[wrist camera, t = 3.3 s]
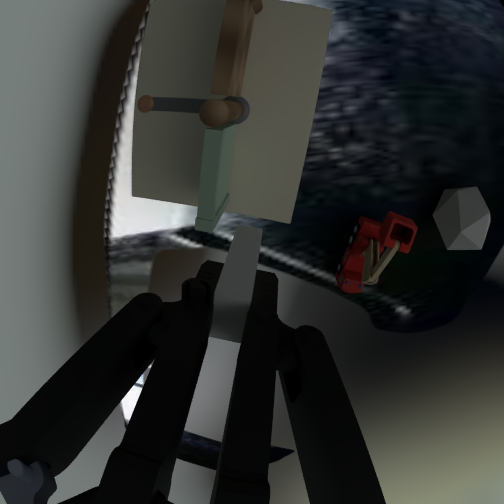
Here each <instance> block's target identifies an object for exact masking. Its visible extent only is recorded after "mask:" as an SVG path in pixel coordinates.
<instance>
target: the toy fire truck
mask: <svg viewBox="0 0 504 504" xmlns="http://www.w3.org/2000/svg"><path fill="white" fill-rule="evenodd" d="M358 222H359V224H360V225H359V224H356V225H355V227H354V234H355V235H357V236H355V235H351V237H350V239H349V245H348V247H347V249H346V251H345V254H344V256H343V258H342V260H341V261H342V263H339V264H338V267H337V272H336V274H335V276H336V280H337V284H338V286H339V287H340V288H341V289H342V290H343V291H345V292H347V293H357V292H360V291H361V290H362V288H363V286H364V285H365V284H369V285H371V284H375V283H377V281H378V276H379V275H380V273H381V272H382V271H383V269H384V268H385V267H386V265H387V264H388V262H389V261H390V260H391V258H392V257H393V256H394V254H395V253H396V251H397V250H399V251H401V252H404V253H408V252H409V250H410V248H411V245H412V243H413V240H414V238H415V235H416V232H417V229H418V228H417V226H416V225H415V223H414V221H413V220H411V219H409V218H406V217H403V216H401V215H398V214H396V213H393V212H391V211H388V214H387V216H386V218H385V220H384V222H383V224H381V223H380V222H379V221H376V220H372V219H369V218H366V217H363V216H361V217H360V218H359V221H358ZM383 245H384V246H387V247H388V248H387V249H386V251H385V252H384V254H383V255H382V257H381V258H380V259H379V255H380V254H381V252H382V251H383V249H384V246H383ZM362 273H363V274H362Z"/></svg>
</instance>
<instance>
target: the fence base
mask: <svg viewBox="0 0 504 504" xmlns="http://www.w3.org/2000/svg"><path fill="white" fill-rule="evenodd" d="M262 8H263V5H262V1H261V0H226V5H225V10H224V15H223V20H222V25H221V30H220V35H219V41H218V46H217V52H216V58H215V64H214V70H213V77H212V83H211V90H210V94H214V95H225V96H234V97H241V91H242V85H243V78H244V72H245V67H246V61H247V55H248V49H249V44H250V38H251V33H252V28H253V22H254V17H255V14H258V13H259V12H261V10H262ZM244 111H245V108H244V105H243V104H242V103H241V102H240V101H238V100H225V99H210V100H207V101H206V102H204V103H203V104H202V105H201V107H200V110H199V117H200V120H201V121H202V122H203V123H204V124H205V125H207V126H210V127H215V126H219V125H222V124H224V123H227V122H230V121H233V120H236V119H239V118H241V117H242V116H243V114H244Z"/></svg>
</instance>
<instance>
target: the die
mask: <svg viewBox="0 0 504 504" xmlns="http://www.w3.org/2000/svg"><path fill="white" fill-rule="evenodd" d="M433 218H434V220H435V222H436V224H437V227H438V229H439V231H440V233H441V236H442V238H443V241H444V243H445V245H446V248H447V250H480V249H482V246H483V243H484V240H485V237H486V234H487V230H488V227H489V224H490V211H489V209H488V207H487V205H486V203H485V201H484V199H483V197H482V196H481V194H480V192H479V190H478V188H477V187H468V188H456V189H445V190H444V192H443V194H442V196H441V198H440V200H439V203H438V205H437V207H436V209H435V211H434V213H433Z"/></svg>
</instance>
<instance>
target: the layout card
mask: <svg viewBox="0 0 504 504" xmlns="http://www.w3.org/2000/svg"><path fill="white" fill-rule="evenodd" d="M261 1H262V5H263V8H262V10H261V12H259V13H258V14H255V17H254V22H253V28H252V33H251V38H250V44H249V49H248V55H247V61H246V67H245V72H244V78H243V85H242V91H241V97H234V96H225V95H214V94H210V90H211V83H212V77H213V70H214V64H215V58H216V52H217V46H218V41H219V35H220V30H221V25H222V20H223V15H224V10H225V5H226V0H154V1H151V5H150V9H149V14H148V18H147V23H146V28H145V33H144V39H143V45H142V51H141V57H140V64H139V71H138V80H137V89H136V99H135V110H134V125H133V147H132V196H134V197H140V198H147V199H154V200H160V201H167V202H173V203H179V204H185V205H191V206H197V207H198V199H199V187H200V175H201V165H202V155H203V145H204V136H205V129H206V128H212V127H210V126H207V125H205V124H204V123H203V122H202V121H201V120H200V117H199V110H200V107H201V105H202V104H203V103H204V102H206V101H207V100H210V99H225V100H238V101H240V102H241V103H242V104H243V105H244V108H245V111H244V114H243V116H242V117H241V118H239V119H236V120H233V121H230V122H227V123H234V124H236V130H235V137H234V144H233V151H232V158H231V166H230V173H229V181H228V189H227V193H228V194H230V196H229V203H228V205H227V207H226V208H225V210H224V211H226V212H231V213H237V214H242V215H248V216H253V217H258V218H264V219H269V220H274V221H279V222H284V223H289V224H290V222H291V218H292V214H293V209H294V205H295V201H296V196H297V192H298V187H299V183H300V179H301V174H302V169H303V165H304V160H305V156H306V151H307V146H308V142H309V137H310V132H311V127H312V122H313V117H314V112H315V107H316V102H317V97H318V92H319V87H320V81H321V76H322V71H323V65H324V60H325V54H326V48H327V42H328V36H329V31H330V24H331V18H332V12H333V11H332V10H328V9H324V8H320V7H315V6H310V5H305V4H300V3H294V2H287V1H280V0H261Z"/></svg>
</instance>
